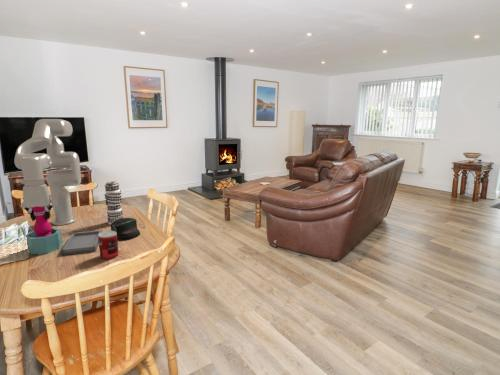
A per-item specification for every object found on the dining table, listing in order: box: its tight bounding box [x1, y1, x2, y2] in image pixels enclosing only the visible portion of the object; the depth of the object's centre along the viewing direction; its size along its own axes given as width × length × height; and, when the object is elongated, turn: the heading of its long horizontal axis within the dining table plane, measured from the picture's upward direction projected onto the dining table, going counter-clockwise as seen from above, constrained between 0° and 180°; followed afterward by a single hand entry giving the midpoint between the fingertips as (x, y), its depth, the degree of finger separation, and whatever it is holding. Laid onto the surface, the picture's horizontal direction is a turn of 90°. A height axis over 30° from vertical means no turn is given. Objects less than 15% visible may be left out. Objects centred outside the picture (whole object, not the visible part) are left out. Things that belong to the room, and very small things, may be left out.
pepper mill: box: [32, 206, 53, 238], centre depth 146 cm, size 7×7×20 cm
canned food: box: [98, 230, 120, 260], centre depth 140 cm, size 8×8×11 cm
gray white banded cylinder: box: [104, 181, 124, 226], centre depth 182 cm, size 9×9×25 cm
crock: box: [25, 227, 63, 256], centre depth 148 cm, size 14×14×8 cm
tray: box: [61, 229, 103, 256], centre depth 154 cm, size 22×14×3 cm, turn 18°
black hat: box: [110, 217, 141, 242], centre depth 165 cm, size 20×20×9 cm
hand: (41, 218), depth 146 cm, fingers closed on pepper mill, 5 cm apart
